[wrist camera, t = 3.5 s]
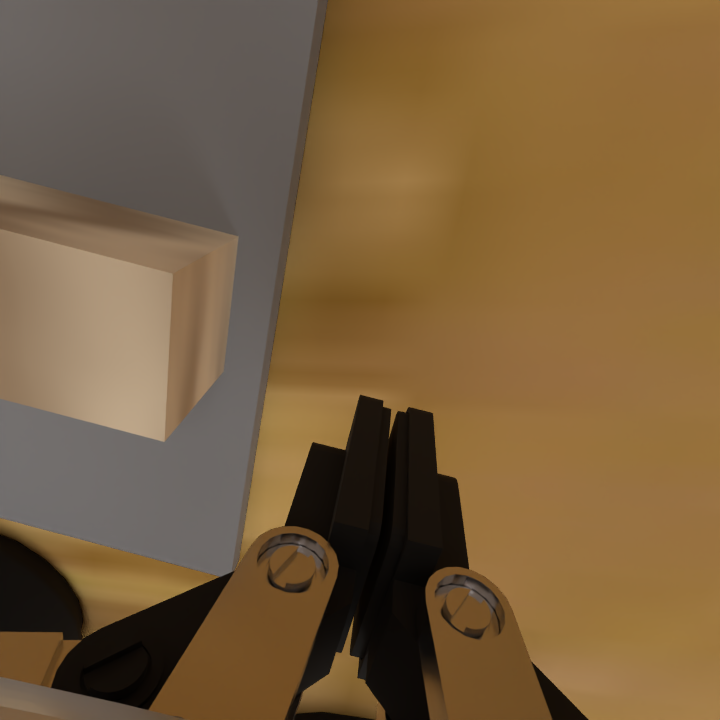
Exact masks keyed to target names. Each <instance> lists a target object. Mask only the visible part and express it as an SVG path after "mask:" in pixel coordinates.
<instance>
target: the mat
mask: <svg viewBox="0 0 720 720" xmlns="http://www.w3.org/2000/svg"><path fill="white" fill-rule="evenodd" d="M327 2H328V0H0V175H2V176H6V177H10V178H14V179H18V180H22V181H26V182H30V183H33V184H37V185H41V186H45V187H49V188H53V189H57V190H61V191H64V192H68V193H72V194H76V195H80V196H84V197H88V198H92V199H95V200H99V201H103V202H107V203H111V204H115V205H119V206H123V207H127V208H130V209H134V210H138V211H142V212H146V213H150V214H154V215H158V216H161V217H165V218H169V219H173V220H177V221H181V222H185V223H189V224H192V225H196V226H200V227H204V228H208V229H212V230H216V231H220V232H223V233H227V234H231V235H235V236H239V238H238V247H237V256H236V265H235V274H234V283H233V292H232V301H231V310H230V319H229V328H228V337H227V346H226V355H225V364H224V372H223V373H222V374H221V375H220V376H219V377H218V379H217V380H216V381H215V382H214V383H213V385H212V386H211V387H210V388H209V389H208V391H207V392H206V393H205V394H204V395H203V397H202V398H201V399H200V400H199V401H198V403H197V404H196V405H195V406H194V407H193V409H192V410H191V411H190V412H189V413H188V414H187V416H186V417H185V418H184V419H183V420H182V422H181V423H180V424H179V425H178V426H177V428H176V429H175V430H174V431H173V432H172V434H171V435H170V436H169V437H168V438H167V440H166V441H165V442H163V441H159V440H155V439H151V438H147V437H144V436H140V435H136V434H132V433H129V432H125V431H121V430H117V429H113V428H110V427H106V426H102V425H98V424H94V423H91V422H87V421H83V420H79V419H75V418H72V417H68V416H64V415H60V414H56V413H53V412H49V411H45V410H41V409H38V408H34V407H30V406H26V405H22V404H19V403H15V402H11V401H7V400H3V399H0V518H3V519H6V520H10V521H14V522H18V523H21V524H25V525H29V526H33V527H36V528H40V529H44V530H48V531H51V532H55V533H59V534H63V535H66V536H70V537H74V538H78V539H81V540H85V541H89V542H92V543H96V544H100V545H104V546H107V547H111V548H115V549H119V550H122V551H126V552H130V553H134V554H137V555H141V556H145V557H149V558H152V559H156V560H160V561H164V562H167V563H171V564H175V565H179V566H182V567H186V568H190V569H194V570H197V571H201V572H205V573H209V574H212V575H216V576H220V577H221V576H223V575H226V574H228V573H230V572H233V571H234V570H235V568H236V565H237V563H238V561H239V556H240V549H241V543H242V537H243V531H244V524H245V518H246V512H247V505H248V499H249V493H250V487H251V480H252V474H253V468H254V461H255V455H256V449H257V442H258V436H259V430H260V424H261V417H262V411H263V405H264V398H265V392H266V386H267V380H268V373H269V367H270V361H271V354H272V348H273V342H274V335H275V329H276V323H277V317H278V310H279V304H280V298H281V291H282V285H283V279H284V272H285V266H286V260H287V254H288V247H289V241H290V235H291V228H292V222H293V216H294V210H295V203H296V197H297V191H298V184H299V178H300V172H301V165H302V159H303V153H304V147H305V140H306V134H307V128H308V121H309V115H310V109H311V103H312V96H313V90H314V84H315V77H316V71H317V65H318V58H319V52H320V46H321V40H322V33H323V27H324V21H325V14H326V8H327Z"/></svg>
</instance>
